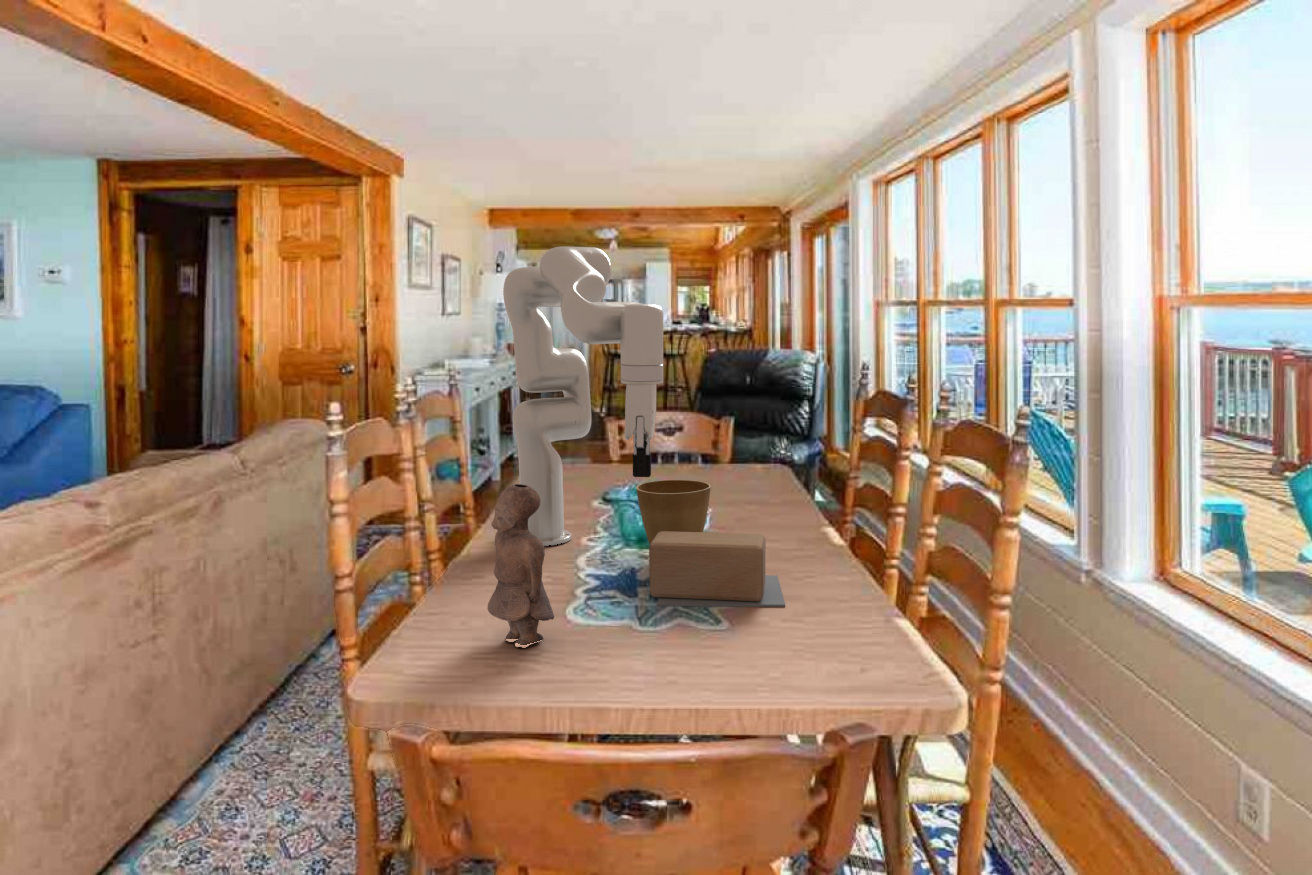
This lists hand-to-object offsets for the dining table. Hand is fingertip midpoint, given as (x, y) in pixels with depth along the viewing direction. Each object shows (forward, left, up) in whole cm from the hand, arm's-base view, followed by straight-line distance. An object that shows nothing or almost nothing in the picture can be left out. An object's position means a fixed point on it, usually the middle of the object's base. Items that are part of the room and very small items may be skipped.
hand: (641, 475), depth 162 cm
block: (+2, -1, -16) cm, 16 cm away
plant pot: (+5, +17, -22) cm, 28 cm away
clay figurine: (-17, -27, -22) cm, 38 cm away
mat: (+14, -1, -21) cm, 25 cm away
